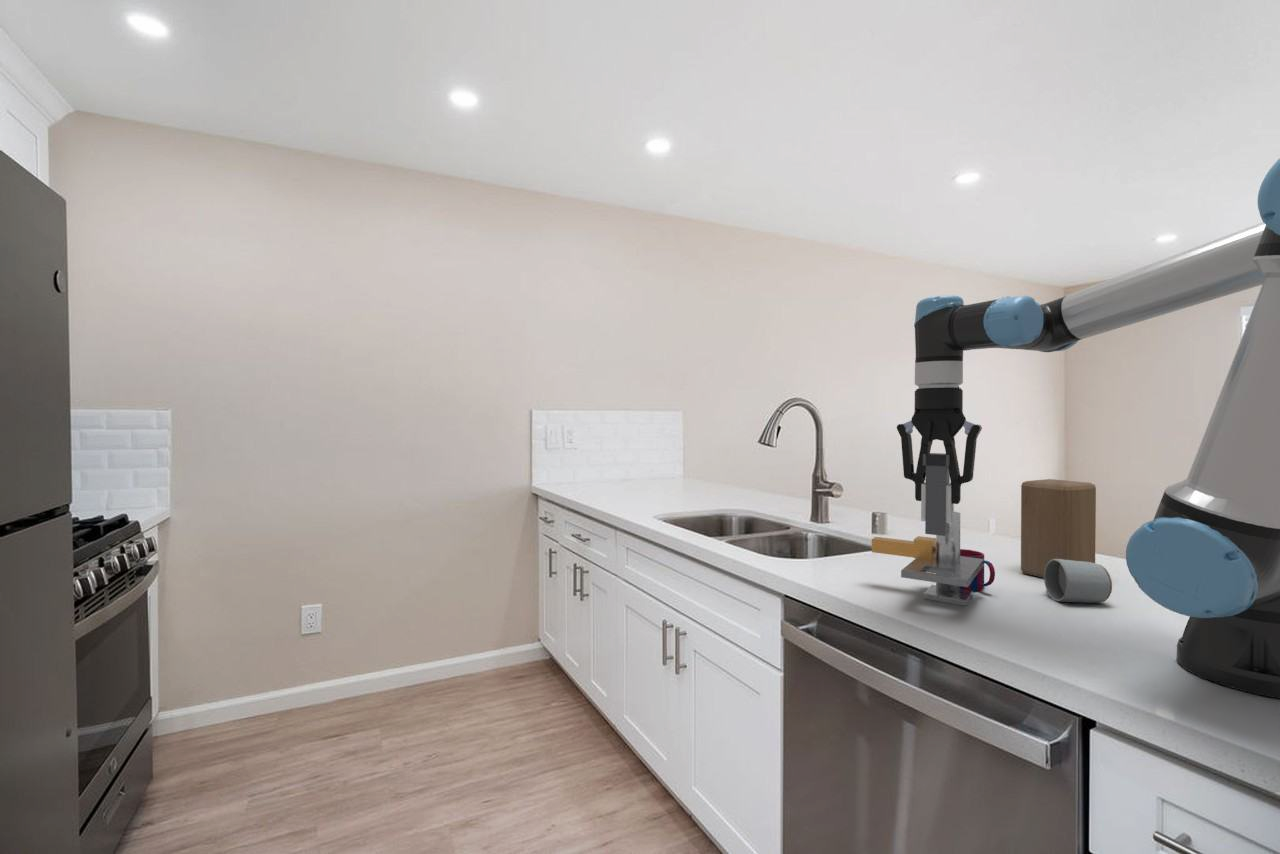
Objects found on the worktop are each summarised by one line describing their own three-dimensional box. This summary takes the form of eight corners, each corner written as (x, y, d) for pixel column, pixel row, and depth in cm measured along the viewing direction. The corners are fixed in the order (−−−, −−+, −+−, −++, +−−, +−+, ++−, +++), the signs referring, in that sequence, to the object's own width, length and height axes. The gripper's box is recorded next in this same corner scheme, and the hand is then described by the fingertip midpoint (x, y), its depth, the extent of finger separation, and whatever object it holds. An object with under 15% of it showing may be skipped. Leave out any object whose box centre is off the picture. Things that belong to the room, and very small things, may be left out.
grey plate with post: (880, 579, 124) (880, 503, 124) (983, 595, 113) (984, 511, 113) (853, 601, 110) (853, 514, 110) (967, 622, 99) (967, 525, 99)
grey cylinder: (1116, 608, 105) (1115, 564, 105) (1066, 607, 106) (1066, 563, 106) (1078, 591, 116) (1078, 552, 116) (1033, 590, 117) (1033, 551, 117)
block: (1018, 573, 129) (1019, 480, 128) (1047, 568, 133) (1047, 478, 132) (1068, 585, 120) (1069, 485, 119) (1097, 579, 124) (1098, 483, 123)
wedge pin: (952, 533, 105) (952, 453, 105) (948, 536, 102) (949, 454, 102) (926, 530, 108) (926, 452, 107) (922, 533, 105) (922, 453, 105)
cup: (967, 581, 123) (967, 548, 123) (1005, 595, 113) (1005, 559, 113) (938, 582, 122) (938, 549, 122) (974, 597, 112) (974, 561, 112)
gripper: (995, 386, 102) (993, 522, 103) (894, 389, 112) (894, 513, 113) (988, 385, 96) (987, 529, 97) (883, 387, 106) (882, 519, 107)
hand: (937, 520), depth 105 cm, fingers closed on wedge pin, 3 cm apart
